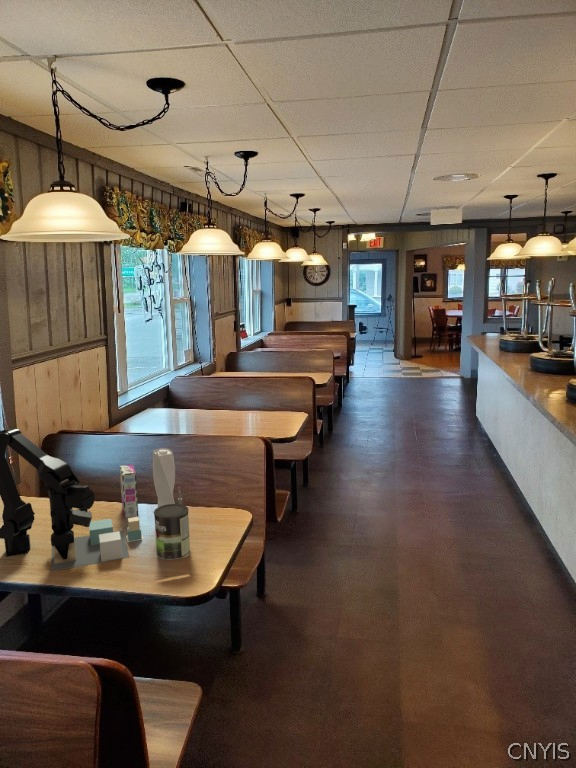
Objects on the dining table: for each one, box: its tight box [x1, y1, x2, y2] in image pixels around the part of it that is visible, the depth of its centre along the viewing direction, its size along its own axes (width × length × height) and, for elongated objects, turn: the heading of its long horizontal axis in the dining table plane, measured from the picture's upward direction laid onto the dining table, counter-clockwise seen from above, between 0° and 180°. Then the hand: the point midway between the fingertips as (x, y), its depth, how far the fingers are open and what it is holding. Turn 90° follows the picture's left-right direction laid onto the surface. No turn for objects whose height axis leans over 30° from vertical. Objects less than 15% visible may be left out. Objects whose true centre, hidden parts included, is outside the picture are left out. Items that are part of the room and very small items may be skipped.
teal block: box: [88, 518, 114, 545], centre depth 188 cm, size 7×7×5 cm
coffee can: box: [153, 503, 191, 561], centre depth 178 cm, size 10×10×14 cm
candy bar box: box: [119, 464, 139, 519], centre depth 210 cm, size 11×5×16 cm, turn 21°
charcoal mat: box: [50, 529, 130, 572], centre depth 182 cm, size 22×21×1 cm
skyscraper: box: [152, 447, 183, 508], centre depth 198 cm, size 8×8×28 cm
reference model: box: [125, 516, 144, 543], centre depth 189 cm, size 5×5×7 cm
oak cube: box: [53, 535, 76, 564], centre depth 176 cm, size 6×6×6 cm
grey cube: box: [99, 530, 122, 562], centre depth 177 cm, size 6×6×6 cm
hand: (65, 554), depth 177 cm, fingers closed on oak cube, 6 cm apart
